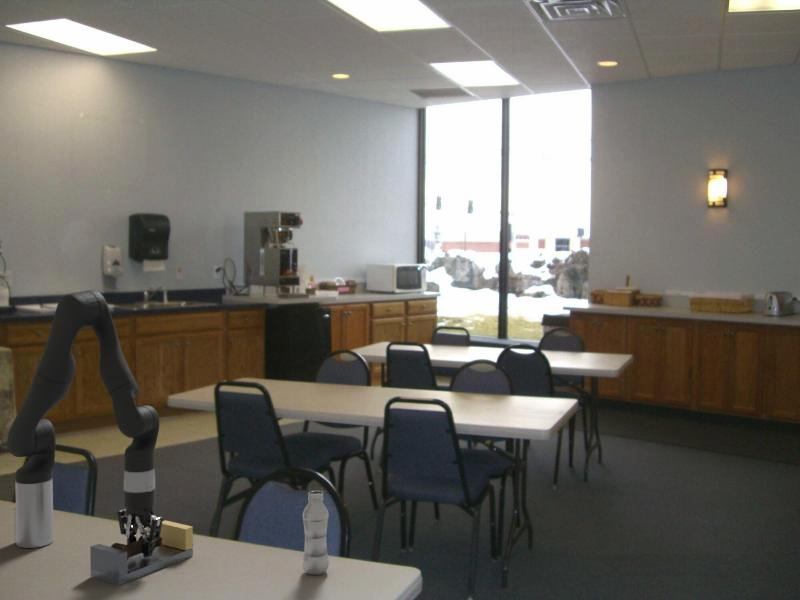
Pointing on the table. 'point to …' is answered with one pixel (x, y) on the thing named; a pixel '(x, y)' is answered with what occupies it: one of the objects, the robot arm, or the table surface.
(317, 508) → the plastic bottle
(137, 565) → the plate
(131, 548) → the bolt
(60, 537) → the table surface
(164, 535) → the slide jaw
